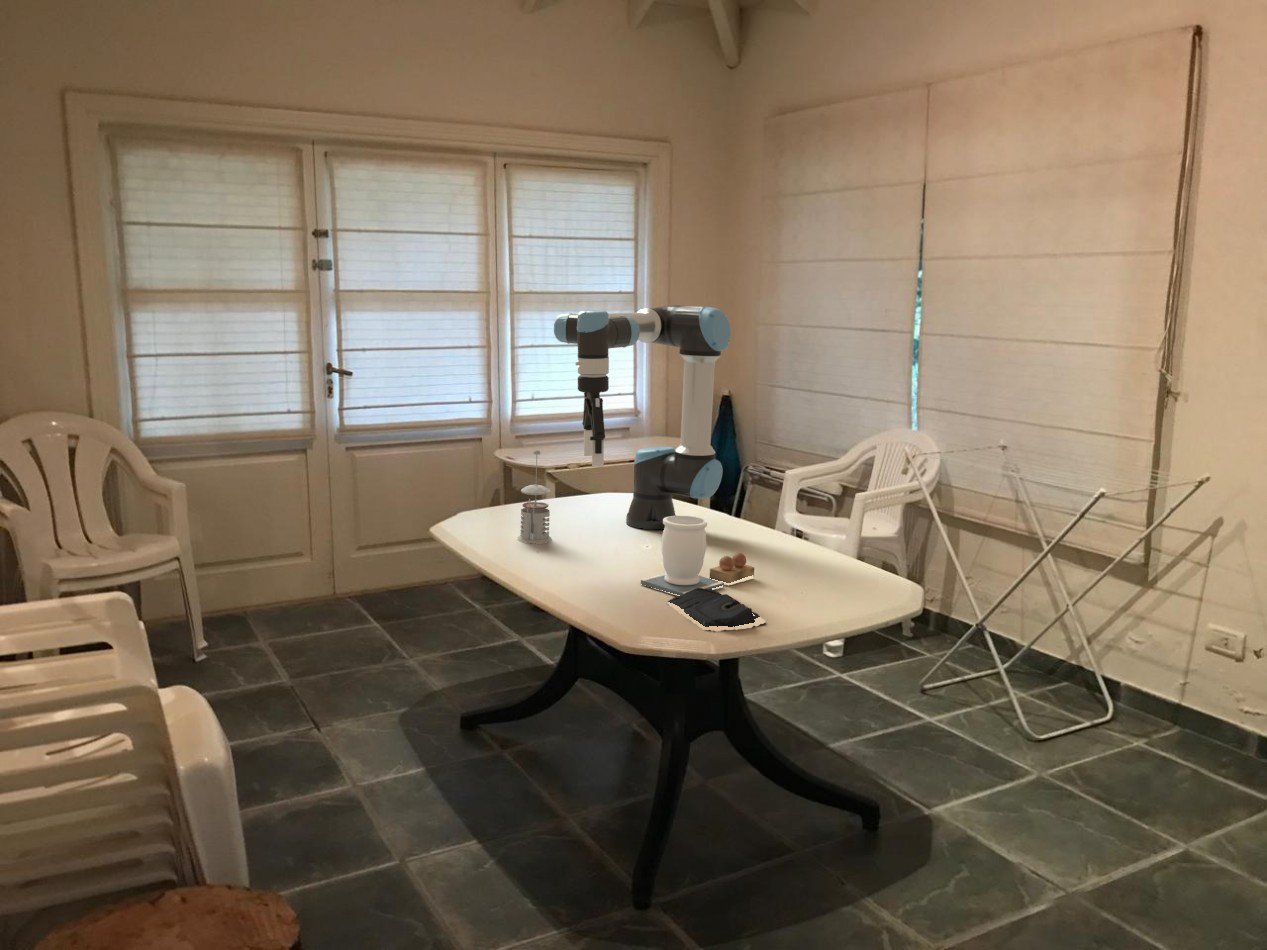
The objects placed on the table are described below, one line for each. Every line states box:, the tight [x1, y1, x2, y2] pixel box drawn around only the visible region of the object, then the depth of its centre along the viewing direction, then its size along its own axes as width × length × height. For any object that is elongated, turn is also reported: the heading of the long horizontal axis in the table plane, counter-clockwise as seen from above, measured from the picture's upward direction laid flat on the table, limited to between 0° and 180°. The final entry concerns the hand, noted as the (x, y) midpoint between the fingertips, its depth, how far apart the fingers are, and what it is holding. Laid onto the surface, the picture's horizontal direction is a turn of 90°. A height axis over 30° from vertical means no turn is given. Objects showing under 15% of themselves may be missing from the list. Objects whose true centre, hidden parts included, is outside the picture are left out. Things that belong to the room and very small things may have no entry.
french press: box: [517, 449, 553, 545], centre depth 277 cm, size 10×12×25 cm
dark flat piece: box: [667, 588, 760, 627], centre depth 224 cm, size 15×22×5 cm
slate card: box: [640, 572, 725, 596], centre depth 243 cm, size 14×14×1 cm
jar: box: [661, 515, 708, 586], centre depth 242 cm, size 11×10×15 cm
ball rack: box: [709, 552, 755, 583], centre depth 250 cm, size 10×6×6 cm, turn 136°
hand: (593, 460), depth 252 cm, fingers open, 13 cm apart
